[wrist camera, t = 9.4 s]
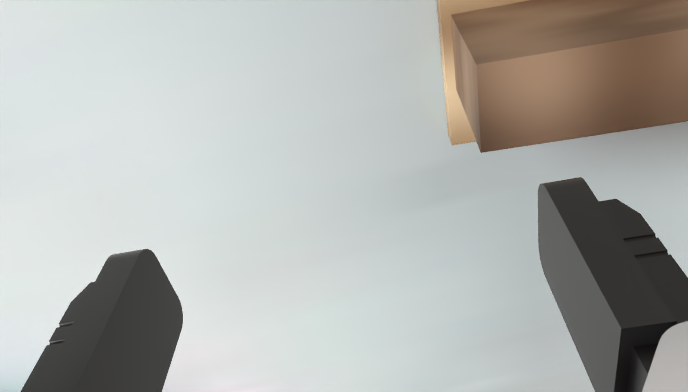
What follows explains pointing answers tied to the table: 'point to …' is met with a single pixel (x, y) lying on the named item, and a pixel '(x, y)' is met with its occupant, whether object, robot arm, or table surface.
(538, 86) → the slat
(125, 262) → the robot arm
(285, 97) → the table surface
